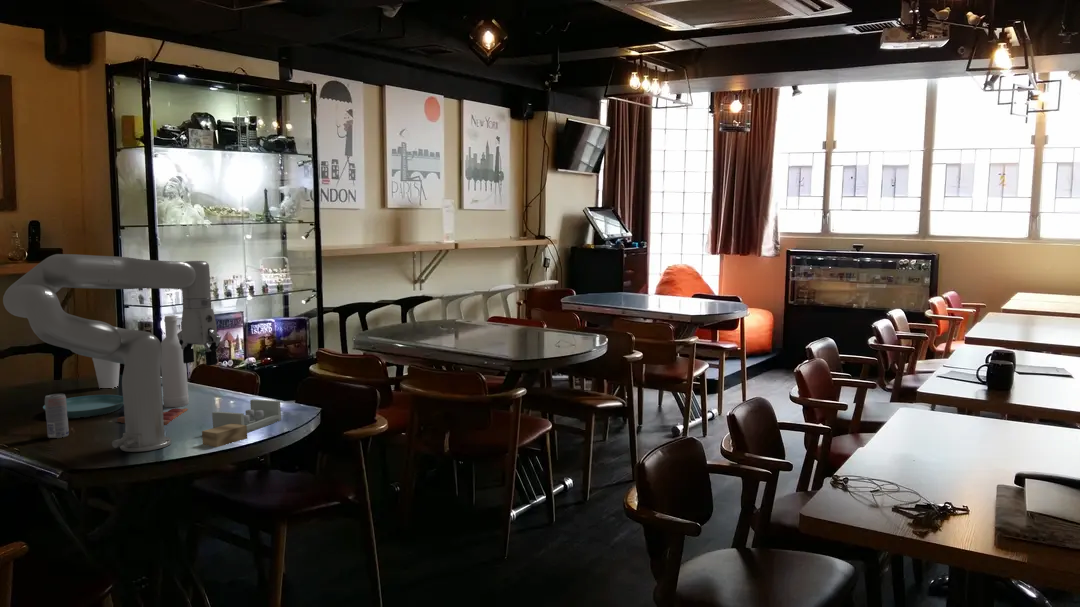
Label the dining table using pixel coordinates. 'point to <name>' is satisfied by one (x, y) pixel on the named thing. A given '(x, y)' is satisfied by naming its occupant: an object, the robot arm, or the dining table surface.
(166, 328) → the bottle
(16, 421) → the dining table surface
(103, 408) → the saucer
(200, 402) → the dining table surface
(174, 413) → the billiard ball rack
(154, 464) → the dining table surface
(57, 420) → the energy drink
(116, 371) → the foam cup
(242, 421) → the peg frame
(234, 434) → the oak plank
